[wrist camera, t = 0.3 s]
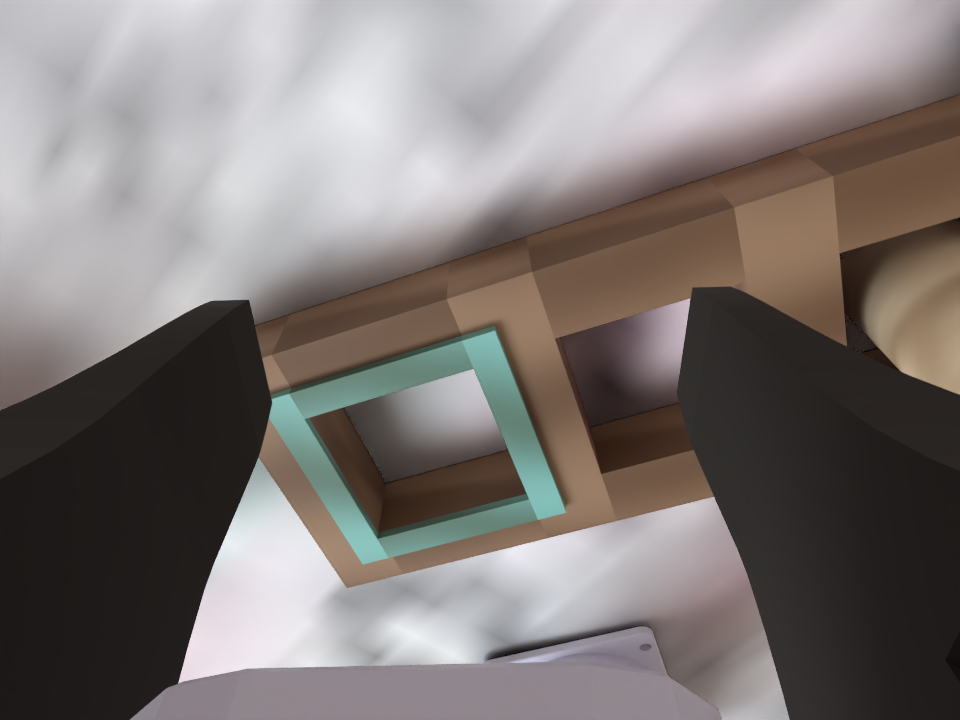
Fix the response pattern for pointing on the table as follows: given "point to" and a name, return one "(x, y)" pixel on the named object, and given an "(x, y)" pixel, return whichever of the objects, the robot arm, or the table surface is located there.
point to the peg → (910, 300)
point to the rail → (541, 356)
